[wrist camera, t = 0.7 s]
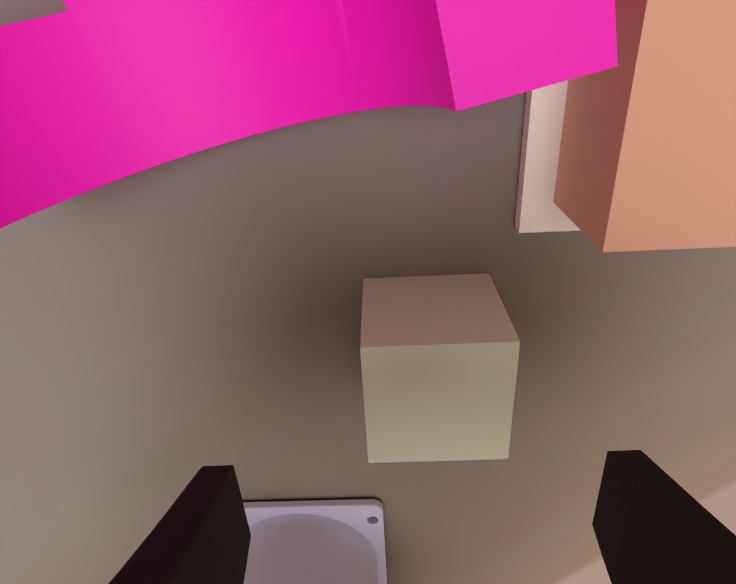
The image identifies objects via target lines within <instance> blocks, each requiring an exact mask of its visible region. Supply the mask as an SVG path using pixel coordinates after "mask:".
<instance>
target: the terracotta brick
mask: <svg viewBox="0 0 736 584" xmlns="http://www.w3.org/2000/svg"><path fill="white" fill-rule="evenodd" d="M615 15H616V38H617V61H618V66H617V67H613V68H610V69H606V70H602V71H599V72H595V73H592V74H588V75H585V76H581V77H578V78H574V79H570V80H568V86H567V94H566V102H565V111H564V119H563V127H562V135H561V143H560V152H559V160H558V168H557V176H556V184H555V193H554V201H553V203H554V204H555V205H556V206H557V207H558V208H559V209H560V210H561V211H562V212H563V213H564V214H565V215H566V216H567V217H568V218H569V219H570V220H571V221H572V222H573V223H574V224H575V225H576V226H577V227H578V228H579V229H580V230H581V231H582V232H583V233H584V234H585V235H586V236H587V237H588V238H589V239H590V240H591V241H592V242H593V243H594V244H595V245H596V246H597V247H598V248H599V249H600V250H601V251H602V252H622V251H645V250H669V249H693V248H716V247H736V0H615Z"/></svg>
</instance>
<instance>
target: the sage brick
mask: <svg viewBox="0 0 736 584" xmlns="http://www.w3.org/2000/svg"><path fill="white" fill-rule="evenodd" d="M519 348H520V340H519V338H518V336H517V333H516V331H515V329H514V327H513V325H512V322H511V320H510V318H509V316H508V314H507V312H506V309H505V307H504V305H503V303H502V301H501V298H500V296H499V294H498V292H497V290H496V287H495V285H494V283H493V281H492V279H491V276H490V274H489V273H483V274H459V275H435V276H411V277H386V278H363V295H362V316H361V337H360V354H361V368H362V382H363V396H364V410H365V424H366V437H367V451H368V463H384V462H418V461H453V460H488V459H508V455H509V445H510V436H511V426H512V416H513V407H514V397H515V387H516V378H517V368H518V358H519Z"/></svg>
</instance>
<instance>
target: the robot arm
mask: <svg viewBox="0 0 736 584" xmlns="http://www.w3.org/2000/svg"><path fill="white" fill-rule="evenodd" d="M372 516H373V517H372ZM592 525H593V528H594V531H595V534H596V538H597V541H598V544H599V547H600V550H601V553H602V557H603V559H604V562H605V565H606V568H607V571H608V574H609V577H610V580H611V582H612V584H736V536H735V535H734V534H733V533H732V532H731V531H730V530H729V529H727V528H726V527H725V526H724V525H723V524H722V523H721V522H720V521H718V520H717V519H716V518H715V517H714V516H713V515H712V514H711V513H709V512H708V511H707V510H706V509H705V508H704V507H703V506H702V505H701V504H699V503H698V502H697V501H696V500H695V499H694V498H693V497H692V496H691V495H689V494H688V493H687V492H686V491H685V490H684V489H683V488H682V487H681V486H680V485H678V484H677V483H676V482H675V481H674V480H673V479H672V478H671V477H670V476H669V475H667V474H666V473H665V472H664V471H663V470H662V469H661V468H660V467H659V466H658V465H656V464H655V463H654V462H653V461H652V460H651V459H650V458H649V457H648V456H646V455H645V454H644V453H643V452H642V451H641V450H628V451H608V452H607V456H606V461H605V466H604V471H603V476H602V480H601V485H600V490H599V495H598V500H597V505H596V509H595V514H594V519H593V524H592ZM109 584H387V570H386V552H385V535H384V517H383V505H382V503H381V502H380V501H378V500H376V499H353V500H314V501H274V502H243V501H242V497H241V493H240V489H239V485H238V481H237V478H236V474H235V470H234V466H233V465H227V466H203V467H202V468H201V469H200V470H199V471H198V472H197V473H196V475H195V476H194V477H193V479H192V480H191V481H190V482H189V484H188V485H187V486H186V488H185V489H184V490H183V492H182V493H181V494H180V496H179V497H178V498H177V500H176V501H175V502H174V503H173V505H172V506H171V507H170V509H169V510H168V511H167V513H166V514H165V515H164V516H163V518H162V519H161V520H160V521H159V523H158V524H157V525H156V527H155V528H154V529H153V530H152V532H151V533H150V534H149V535H148V537H147V538H146V539H145V540H144V541H143V543H142V544H141V545H140V546H139V548H138V549H137V550H136V551H135V553H134V554H133V555H132V556H131V557H130V559H129V560H128V561H127V562H126V564H125V565H124V566H123V567H122V568H121V570H120V571H119V572H118V573H117V574H116V576H115V577H114V578H113V579H112V580H111V581H110V583H109Z"/></svg>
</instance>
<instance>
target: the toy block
mask: <svg viewBox="0 0 736 584" xmlns="http://www.w3.org/2000/svg"><path fill="white" fill-rule="evenodd" d="M63 2H64V4H65V6H66V8H67V12H62V13H58V14H54V15H50V16H46V17H41V18H37V19H32V20H28V21H23V22H19V23H14V24H9V25H4V26H0V228H2V227H4V226H6V225H9V224H11V223H13V222H15V221H17V220H20V219H22V218H24V217H27V216H29V215H31V214H34V213H36V212H38V211H40V210H43V209H45V208H48V207H50V206H52V205H55V204H57V203H60V202H62V201H64V200H67V199H69V198H72V197H74V196H77V195H79V194H82V193H84V192H87V191H89V190H92V189H95V188H97V187H100V186H102V185H105V184H107V183H110V182H113V181H115V180H118V179H121V178H123V177H126V176H129V175H132V174H134V173H137V172H140V171H143V170H145V169H148V168H151V167H154V166H157V165H160V164H163V163H165V162H168V161H171V160H174V159H177V158H180V157H183V156H186V155H189V154H192V153H196V152H199V151H202V150H205V149H208V148H211V147H215V146H218V145H221V144H224V143H228V142H231V141H234V140H238V139H241V138H245V137H248V136H252V135H255V134H259V133H263V132H266V131H270V130H274V129H278V128H282V127H286V126H290V125H294V124H298V123H302V122H306V121H311V120H315V119H320V118H324V117H329V116H334V115H339V114H345V113H351V112H356V111H362V110H369V109H376V108H385V107H396V106H422V105H423V106H437V107H443V108H448V109H451V110H453V111H456V112H457V111H460V110H464V109H467V108H471V107H474V106H478V105H481V104H485V103H489V102H492V101H496V100H499V99H503V98H506V97H510V96H513V95H517V94H521V93H524V92H528V91H531V90H535V89H538V88H542V87H545V86H549V85H553V84H556V83H560V82H563V81H567V80H570V79H574V78H578V77H581V76H585V75H588V74H592V73H595V72H599V71H602V70H606V69H610V68H613V67H617V66H618V61H617V38H616V15H615V0H63Z"/></svg>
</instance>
